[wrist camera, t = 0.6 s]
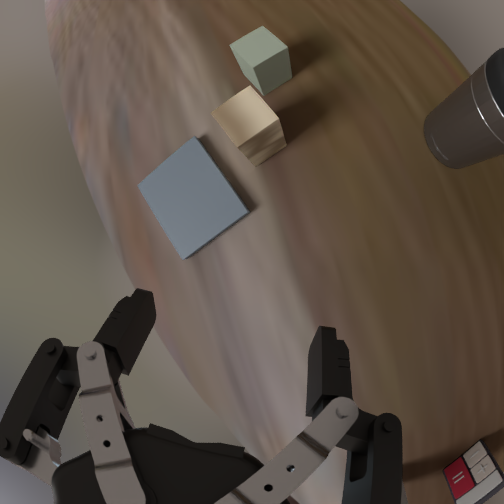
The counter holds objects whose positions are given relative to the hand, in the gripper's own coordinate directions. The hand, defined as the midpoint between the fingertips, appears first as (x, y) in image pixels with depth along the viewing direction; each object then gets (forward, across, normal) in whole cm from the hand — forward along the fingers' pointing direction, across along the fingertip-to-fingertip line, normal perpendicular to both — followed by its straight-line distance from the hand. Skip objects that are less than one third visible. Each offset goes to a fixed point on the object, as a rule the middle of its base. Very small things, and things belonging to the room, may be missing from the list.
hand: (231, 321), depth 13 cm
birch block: (+28, +2, -2) cm, 28 cm away
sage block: (+33, +3, -12) cm, 35 cm away
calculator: (+1, -52, +39) cm, 65 cm away
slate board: (+25, +11, +6) cm, 28 cm away
